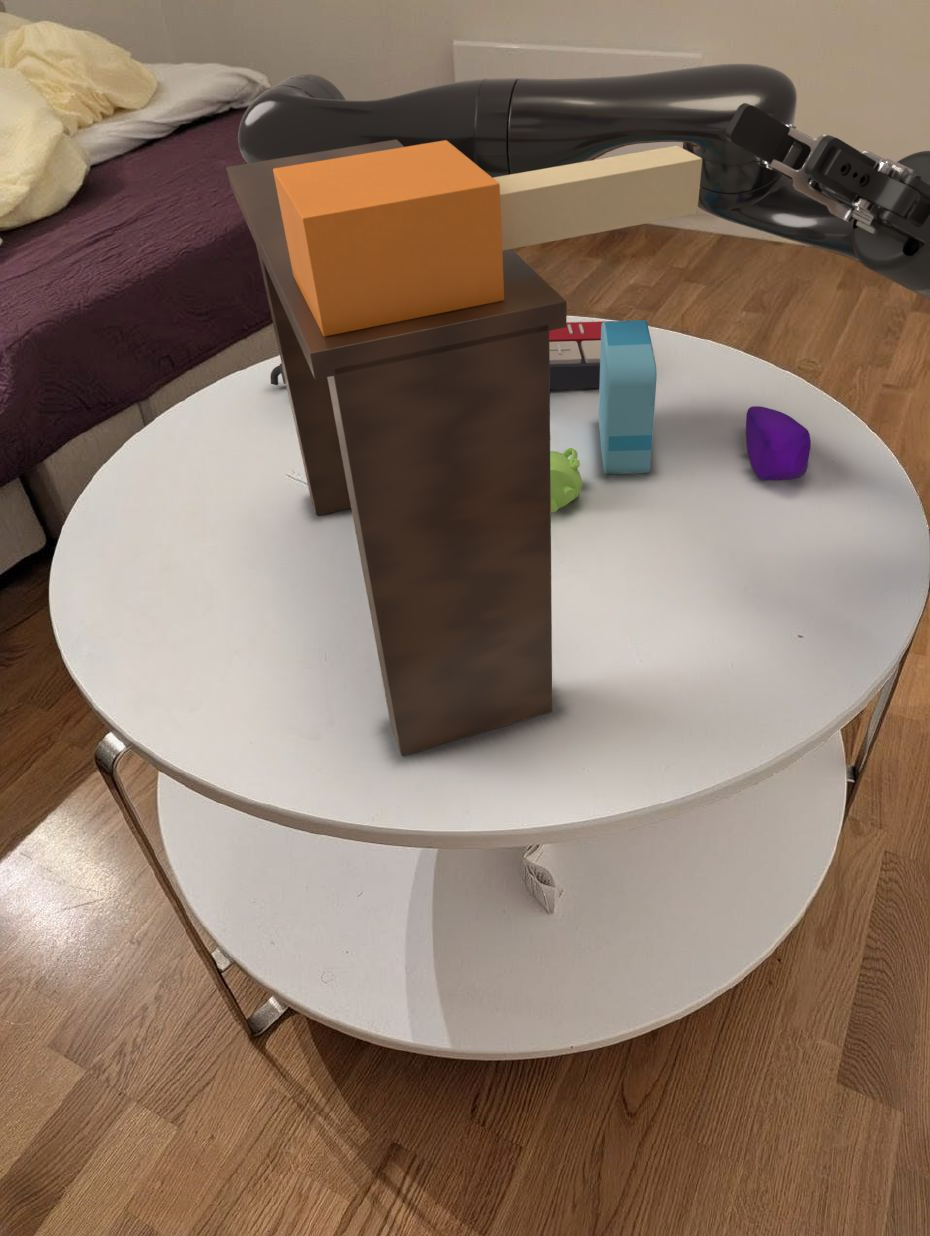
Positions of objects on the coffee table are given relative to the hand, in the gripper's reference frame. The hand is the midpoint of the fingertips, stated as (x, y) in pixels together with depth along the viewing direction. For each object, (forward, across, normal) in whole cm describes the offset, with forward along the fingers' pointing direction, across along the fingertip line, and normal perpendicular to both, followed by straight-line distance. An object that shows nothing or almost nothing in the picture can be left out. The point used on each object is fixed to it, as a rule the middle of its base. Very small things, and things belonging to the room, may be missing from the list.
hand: (773, 136), depth 53 cm
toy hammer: (+12, 0, -12) cm, 17 cm away
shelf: (+1, +12, -43) cm, 44 cm away
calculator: (-23, +46, -29) cm, 58 cm away
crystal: (-33, +19, -23) cm, 45 cm away
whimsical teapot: (-13, +20, -35) cm, 42 cm away
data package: (-22, +26, -30) cm, 45 cm away
